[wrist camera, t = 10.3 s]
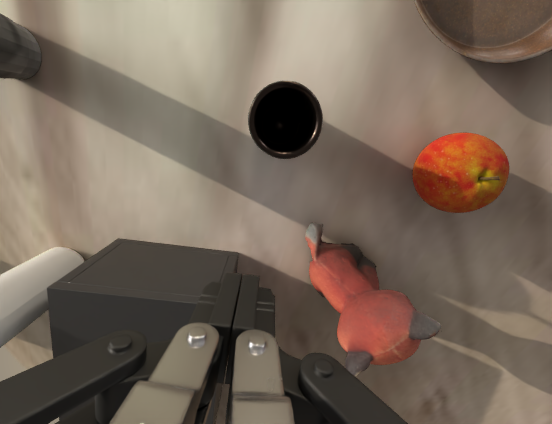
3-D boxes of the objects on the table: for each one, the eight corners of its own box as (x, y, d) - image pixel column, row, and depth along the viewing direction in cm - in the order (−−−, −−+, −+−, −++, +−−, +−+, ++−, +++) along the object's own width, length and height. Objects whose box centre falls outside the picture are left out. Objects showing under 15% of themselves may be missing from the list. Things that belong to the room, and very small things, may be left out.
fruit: (418, 214, 29) (470, 243, 22) (387, 158, 28) (432, 168, 20) (479, 178, 28) (556, 194, 21) (452, 118, 27) (524, 112, 19)
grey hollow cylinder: (257, 98, 26) (249, 77, 16) (305, 101, 26) (327, 82, 16) (255, 148, 27) (246, 156, 17) (301, 151, 27) (319, 161, 17)
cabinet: (226, 363, 34) (210, 450, 25) (119, 352, 33) (60, 439, 24) (238, 252, 30) (224, 306, 21) (117, 238, 29) (46, 287, 20)
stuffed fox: (330, 199, 29) (370, 243, 17) (393, 271, 31) (465, 352, 20) (275, 245, 30) (279, 315, 18) (340, 311, 32) (379, 409, 21)
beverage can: (43, 279, 31) (-94, 368, 19) (45, 240, 29) (-101, 309, 18) (88, 289, 31) (-20, 381, 19) (92, 250, 30) (-21, 324, 18)
